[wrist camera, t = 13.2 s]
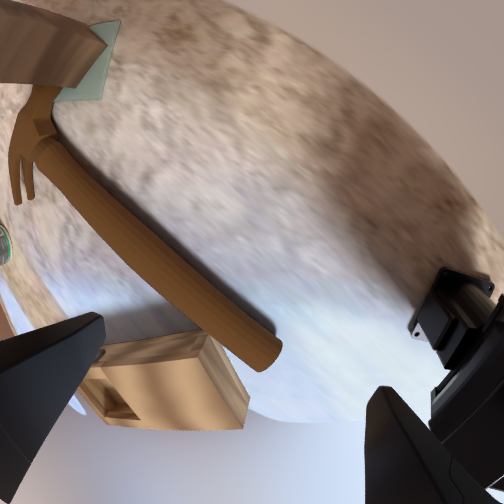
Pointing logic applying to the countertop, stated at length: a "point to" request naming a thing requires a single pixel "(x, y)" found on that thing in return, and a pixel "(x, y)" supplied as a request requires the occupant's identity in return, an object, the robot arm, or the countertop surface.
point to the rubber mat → (94, 68)
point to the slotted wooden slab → (166, 384)
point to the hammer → (131, 235)
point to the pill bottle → (5, 246)
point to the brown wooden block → (44, 47)
